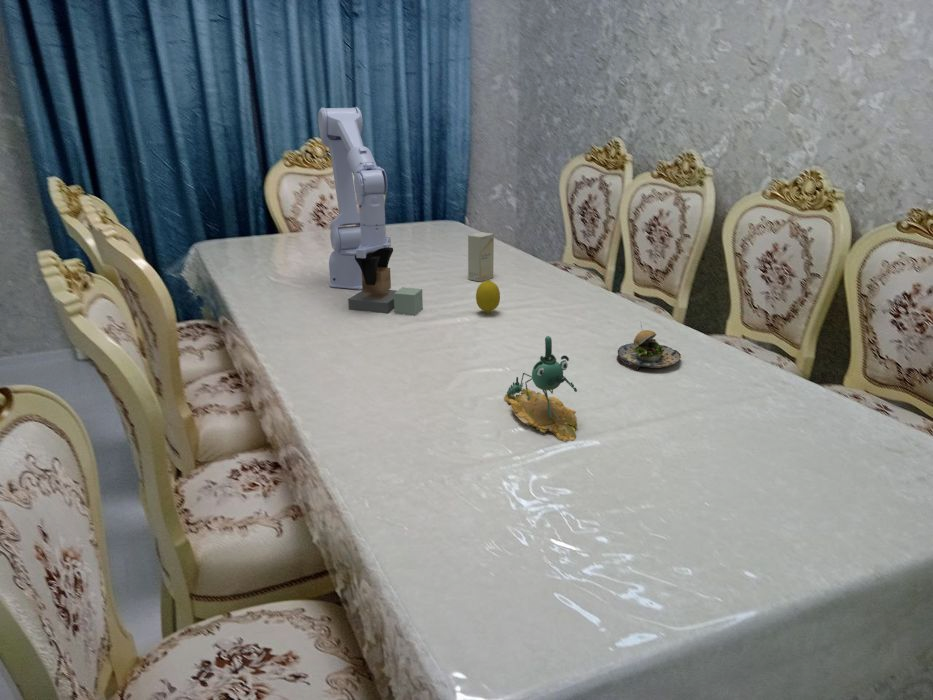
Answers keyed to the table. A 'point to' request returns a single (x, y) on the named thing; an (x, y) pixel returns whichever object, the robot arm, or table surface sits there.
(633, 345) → the burger
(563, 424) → the green creature figurine
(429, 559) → the table surface
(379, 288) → the walnut cube
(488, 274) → the skincare box
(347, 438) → the table surface
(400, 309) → the sage cube
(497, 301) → the lemon
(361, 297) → the charcoal block
